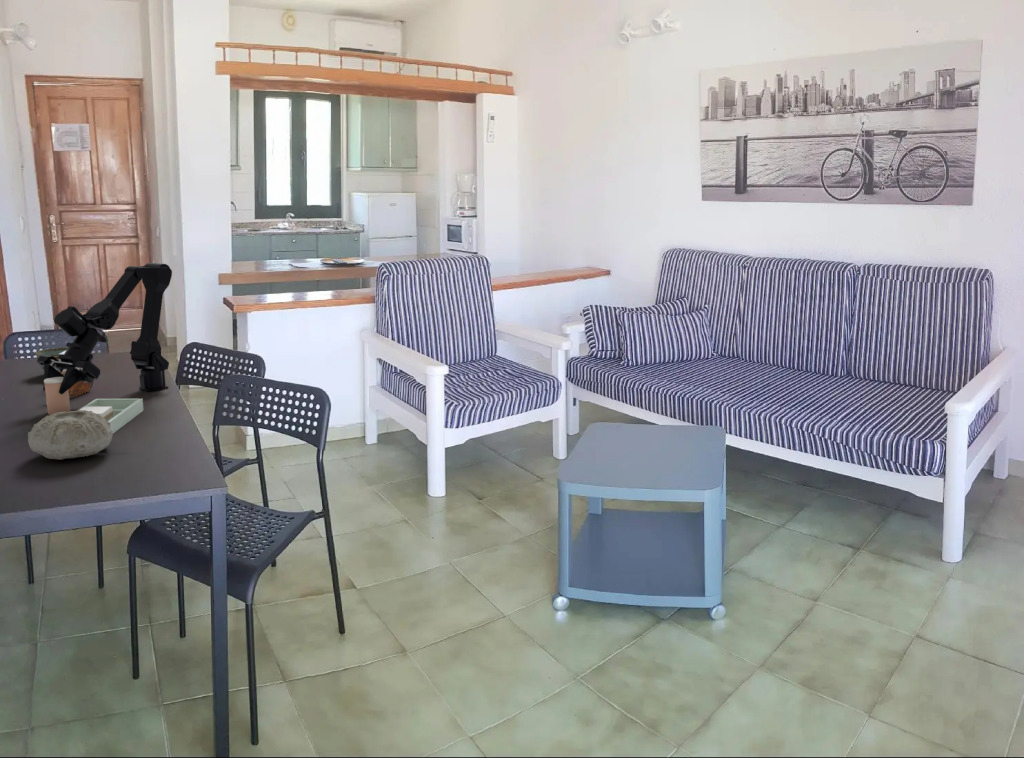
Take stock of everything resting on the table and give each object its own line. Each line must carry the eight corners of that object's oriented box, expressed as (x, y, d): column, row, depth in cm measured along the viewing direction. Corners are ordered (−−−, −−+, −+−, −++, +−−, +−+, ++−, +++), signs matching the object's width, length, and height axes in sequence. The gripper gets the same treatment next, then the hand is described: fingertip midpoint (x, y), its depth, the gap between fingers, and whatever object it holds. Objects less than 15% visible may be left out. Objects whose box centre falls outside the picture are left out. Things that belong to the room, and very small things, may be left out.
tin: (61, 401, 247) (58, 374, 245) (51, 401, 248) (48, 373, 246) (95, 390, 261) (92, 363, 259) (86, 389, 262) (83, 363, 260)
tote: (97, 412, 236) (96, 398, 235) (143, 412, 237) (142, 398, 236) (59, 438, 212) (57, 422, 212) (110, 437, 214) (109, 422, 213)
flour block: (86, 424, 222) (84, 406, 221) (114, 424, 223) (112, 406, 222) (74, 432, 215) (73, 413, 214) (103, 432, 216) (101, 413, 215)
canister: (64, 410, 238) (61, 375, 235) (74, 413, 234) (71, 378, 232) (44, 414, 233) (40, 379, 231) (53, 418, 230) (50, 382, 228)
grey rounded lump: (116, 460, 196) (112, 419, 194) (29, 471, 188) (24, 428, 186) (112, 440, 212) (108, 401, 210) (31, 449, 204) (26, 409, 201)
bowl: (70, 379, 274) (67, 355, 272) (29, 378, 274) (26, 354, 273) (91, 370, 288) (89, 347, 286) (52, 369, 288) (49, 346, 286)
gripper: (124, 365, 241) (96, 411, 234) (77, 359, 248) (48, 403, 241) (99, 342, 233) (69, 389, 225) (51, 337, 239) (20, 382, 232)
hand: (52, 392), depth 231 cm, fingers closed on canister, 6 cm apart
